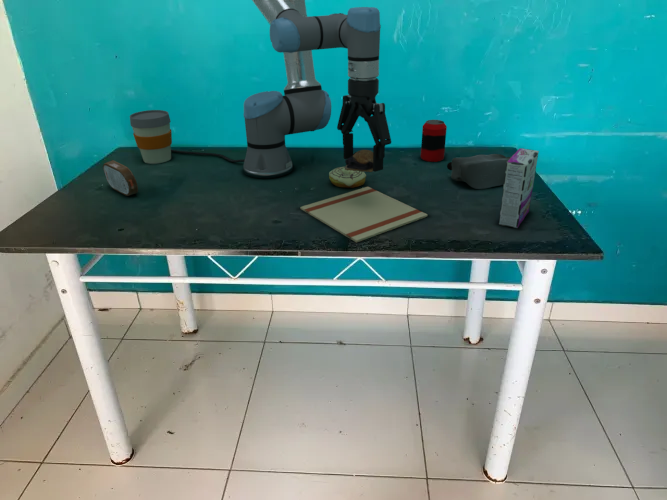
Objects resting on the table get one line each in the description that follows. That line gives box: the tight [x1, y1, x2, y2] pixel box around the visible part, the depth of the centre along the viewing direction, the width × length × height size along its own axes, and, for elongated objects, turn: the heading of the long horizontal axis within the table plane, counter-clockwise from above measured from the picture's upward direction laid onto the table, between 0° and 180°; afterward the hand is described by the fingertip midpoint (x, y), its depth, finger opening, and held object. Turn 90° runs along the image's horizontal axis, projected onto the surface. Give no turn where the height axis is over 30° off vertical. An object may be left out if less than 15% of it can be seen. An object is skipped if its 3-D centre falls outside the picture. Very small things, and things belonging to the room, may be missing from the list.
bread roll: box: [344, 149, 374, 173], centre depth 136 cm, size 11×8×4 cm
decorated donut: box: [328, 166, 367, 189], centre depth 153 cm, size 10×11×4 cm
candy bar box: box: [498, 148, 540, 229], centre depth 127 cm, size 11×5×16 cm, turn 148°
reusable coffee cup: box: [129, 109, 173, 165], centre depth 172 cm, size 13×13×15 cm
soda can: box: [420, 119, 448, 163], centre depth 169 cm, size 8×8×12 cm
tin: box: [102, 159, 139, 197], centre depth 149 cm, size 15×3×8 cm, turn 47°
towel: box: [299, 186, 428, 244], centre depth 135 cm, size 24×23×1 cm
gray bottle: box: [446, 153, 511, 190], centre depth 151 cm, size 18×11×8 cm, turn 104°
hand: (362, 164), depth 136 cm, fingers closed on bread roll, 12 cm apart
